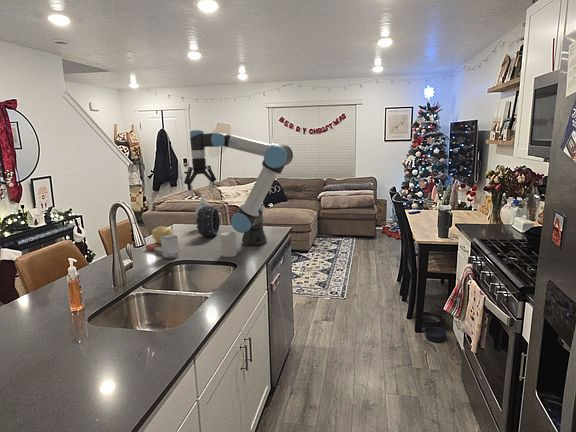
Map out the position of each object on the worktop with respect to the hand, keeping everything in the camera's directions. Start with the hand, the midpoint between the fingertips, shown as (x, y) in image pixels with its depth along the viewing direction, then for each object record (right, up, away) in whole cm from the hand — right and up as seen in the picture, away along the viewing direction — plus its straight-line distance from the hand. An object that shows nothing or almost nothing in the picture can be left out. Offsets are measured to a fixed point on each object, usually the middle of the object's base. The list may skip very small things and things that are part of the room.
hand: (201, 194), depth 225 cm
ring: (-2, -26, +34) cm, 43 cm away
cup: (+18, -34, -12) cm, 40 cm away
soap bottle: (-10, -21, +58) cm, 63 cm away
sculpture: (-29, -30, +20) cm, 46 cm away
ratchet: (-22, -34, -4) cm, 41 cm away
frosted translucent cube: (-14, -32, -13) cm, 38 cm away
